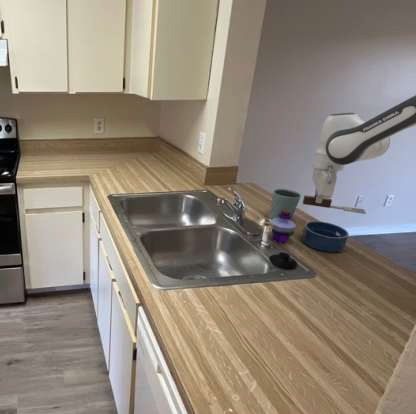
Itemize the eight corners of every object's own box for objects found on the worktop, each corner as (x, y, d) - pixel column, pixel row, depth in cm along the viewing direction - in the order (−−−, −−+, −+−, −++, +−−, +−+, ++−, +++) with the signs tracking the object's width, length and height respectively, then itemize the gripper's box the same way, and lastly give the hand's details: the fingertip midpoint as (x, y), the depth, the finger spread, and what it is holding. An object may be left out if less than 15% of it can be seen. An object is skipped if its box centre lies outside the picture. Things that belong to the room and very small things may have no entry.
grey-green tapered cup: (262, 214, 144) (268, 188, 140) (285, 213, 145) (291, 188, 140) (275, 224, 135) (282, 197, 130) (299, 224, 136) (306, 197, 131)
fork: (363, 210, 112) (366, 203, 111) (365, 214, 109) (368, 206, 108) (302, 201, 119) (304, 194, 118) (303, 204, 117) (305, 197, 116)
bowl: (340, 239, 124) (344, 225, 121) (346, 256, 113) (352, 241, 110) (299, 232, 129) (303, 218, 127) (302, 248, 118) (306, 233, 116)
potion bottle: (291, 247, 119) (299, 217, 114) (264, 241, 123) (271, 212, 118) (292, 237, 125) (300, 208, 120) (267, 232, 129) (274, 204, 125)
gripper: (345, 172, 100) (332, 213, 106) (334, 156, 117) (324, 192, 123) (321, 169, 103) (310, 210, 108) (314, 154, 120) (304, 190, 125)
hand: (317, 200), depth 116 cm, fingers closed on fork, 2 cm apart
